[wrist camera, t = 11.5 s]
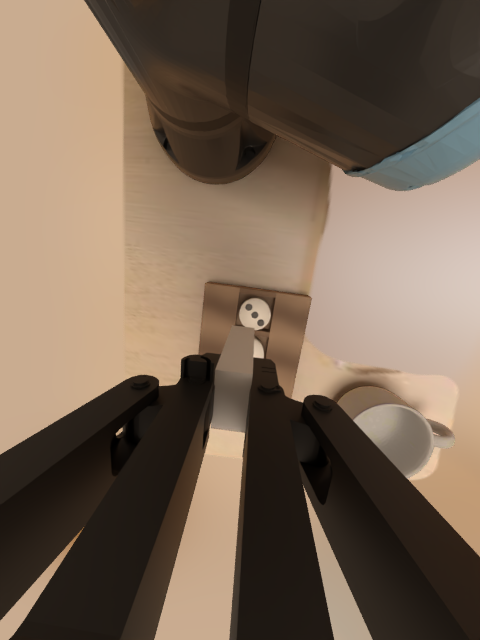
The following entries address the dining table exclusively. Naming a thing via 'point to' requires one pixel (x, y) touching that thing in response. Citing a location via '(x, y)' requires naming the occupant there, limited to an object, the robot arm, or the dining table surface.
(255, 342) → the button one
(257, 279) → the dining table surface
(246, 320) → the button three
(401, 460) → the teacup
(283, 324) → the panel
